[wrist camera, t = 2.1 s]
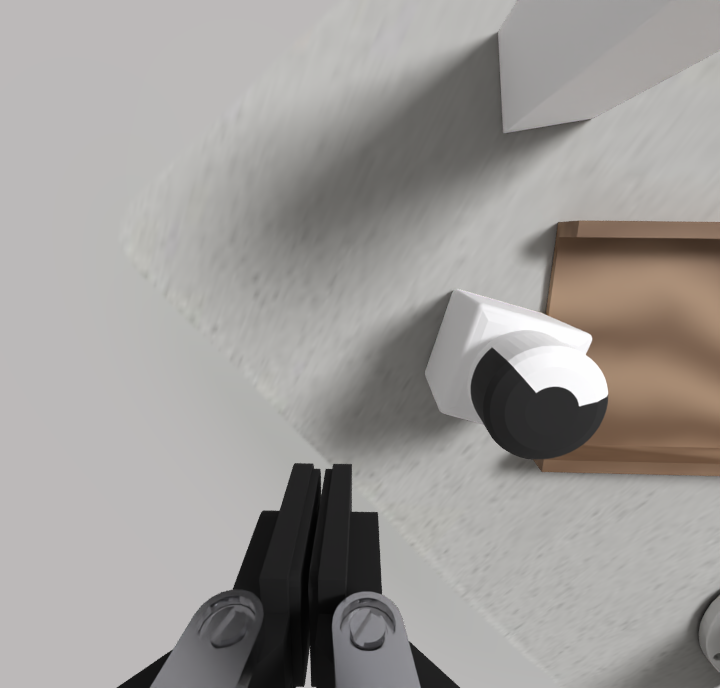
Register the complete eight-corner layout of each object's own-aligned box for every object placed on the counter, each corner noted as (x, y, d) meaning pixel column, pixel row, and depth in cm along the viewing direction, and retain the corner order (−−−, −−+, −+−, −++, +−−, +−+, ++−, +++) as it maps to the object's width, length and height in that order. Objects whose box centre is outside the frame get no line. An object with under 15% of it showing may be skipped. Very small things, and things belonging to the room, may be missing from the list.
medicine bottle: (508, 398, 31) (590, 493, 20) (422, 374, 31) (454, 457, 19) (543, 313, 29) (657, 362, 18) (452, 287, 29) (508, 319, 17)
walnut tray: (775, 457, 32) (814, 478, 29) (527, 451, 32) (541, 471, 30) (849, 225, 27) (904, 224, 24) (558, 222, 28) (579, 220, 25)
